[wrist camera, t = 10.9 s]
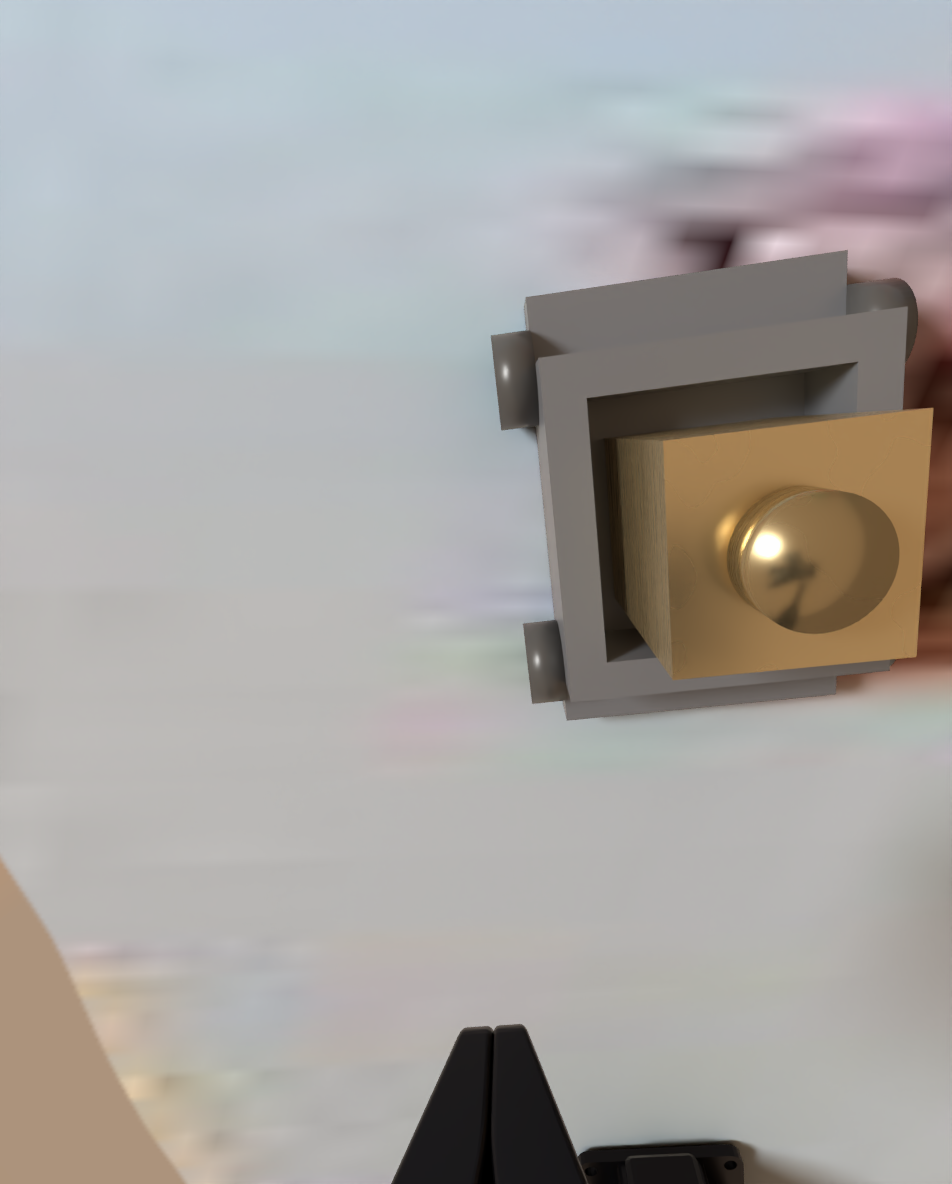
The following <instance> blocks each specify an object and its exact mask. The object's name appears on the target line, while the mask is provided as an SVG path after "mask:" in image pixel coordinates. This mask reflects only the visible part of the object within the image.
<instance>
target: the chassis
mask: <svg viewBox="0 0 952 1184" xmlns="http://www.w3.org/2000/svg"><path fill="white" fill-rule="evenodd" d="M847 256H848V250H845V251H838V252H832V253H825V254H818V255H811V256H804V257H798V258H791V259H784V260H777V261H770V262H763V263H757V264H750V265H743V266H736V267H729V268H723V269H716V270H709V271H702V272H695V273H689V274H682V275H675V276H668V277H661V278H654V279H648V280H641V281H634V282H627V283H620V284H614V285H607V286H600V287H593V288H586V289H580V290H573V291H566V292H559V293H552V294H545V295H539V296H532V297H526V299H525V304H524V312H525V322H526V331H519V332H512V333H505V334H498V335H491V342H492V351H493V360H494V369H495V378H496V387H497V396H498V405H499V413H500V422H501V430H508V429H516V428H524V427H531V426H536V434H537V444H538V455H539V465H540V475H541V485H542V495H543V505H544V516H545V526H546V536H547V546H548V556H549V566H550V577H551V587H552V597H553V607H554V617H555V620H551V621H542V622H533V623H524V624H523V627H524V636H525V645H526V654H527V663H528V671H529V680H530V689H531V697H532V704H535V703H545V702H555V701H563V706H564V710H565V714H566V718H567V720H577V719H588V718H598V717H608V716H618V715H629V714H639V713H649V712H659V711H670V710H680V709H690V708H701V707H711V706H721V705H731V704H742V703H752V702H762V701H772V700H783V699H793V698H803V697H813V696H824V695H834V694H836V676H841V675H851V674H862V673H872V672H882V671H890V666H891V665H892V664H893V663H894V661H895V660H896V659H890V660H880V661H869V662H859V663H848V664H838V665H827V666H817V667H806V668H796V669H785V670H775V671H764V672H754V673H744V674H733V675H723V676H712V677H702V678H691V679H681V680H672V678H671V677H670V676H669V674H668V673H667V671H666V670H665V668H664V667H663V666H662V664H661V663H660V661H659V660H658V658H657V657H656V656H655V654H654V653H653V651H652V650H651V649H650V647H649V646H648V644H647V643H646V641H645V640H644V639H643V637H642V636H641V634H640V633H639V631H638V630H637V629H636V627H635V626H634V624H633V623H632V622H631V620H630V619H629V617H628V616H627V614H626V613H625V612H624V610H623V609H622V607H621V606H620V605H619V603H618V602H617V600H616V599H615V595H614V579H613V564H612V549H611V533H610V518H609V502H608V487H607V472H606V456H605V441H604V438H611V437H620V436H628V435H636V434H644V433H652V432H660V431H668V430H676V429H685V428H693V427H701V426H709V425H717V424H725V423H733V422H741V421H749V420H758V419H766V418H774V417H789V416H806V415H822V414H839V413H855V412H872V411H888V410H903V393H904V373H905V363H906V361H907V359H908V357H909V355H910V353H911V351H912V348H913V345H914V342H915V338H916V333H917V325H918V310H917V303H916V299H915V296H914V293H913V291H912V289H911V288H910V286H909V285H908V284H907V283H906V282H905V281H904V280H901V279H899V278H890V279H883V280H876V281H869V282H862V283H855V284H849V285H847Z"/></svg>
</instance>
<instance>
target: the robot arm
mask: <svg viewBox="0 0 952 1184" xmlns="http://www.w3.org/2000/svg"><path fill="white" fill-rule="evenodd" d="M391 1184H744V1168H743V1162H742V1159H741V1156H740V1153H739V1150H738V1149H737V1148H736V1147H735V1146H733V1145H727V1144H725V1145H704V1146H683V1147H662V1148H641V1149H620V1150H599V1151H586V1152H583V1153H581V1154H580V1155H579V1156H577V1154H576V1151H575V1149H574V1146H573V1144H572V1141H571V1139H570V1136H569V1134H568V1131H567V1129H566V1126H565V1124H564V1121H563V1119H562V1116H561V1114H560V1111H559V1109H558V1106H557V1104H556V1101H555V1099H554V1096H553V1094H552V1091H551V1089H550V1086H549V1084H548V1081H547V1079H546V1076H545V1074H544V1071H543V1069H542V1066H541V1064H540V1061H539V1059H538V1056H537V1054H536V1051H535V1049H534V1046H533V1044H532V1041H531V1039H530V1036H529V1034H528V1031H527V1029H526V1028H525V1026H523V1025H522V1024H514V1025H499V1026H497V1027H496V1028H495V1030H494V1031H493V1029H492V1028H491V1027H488V1026H483V1027H467V1028H464V1029H463V1030H462V1031H461V1032H460V1034H459V1035H458V1037H457V1040H456V1042H455V1044H454V1046H453V1049H452V1051H451V1053H450V1055H449V1057H448V1060H447V1062H446V1064H445V1066H444V1068H443V1071H442V1073H441V1075H440V1077H439V1079H438V1082H437V1084H436V1086H435V1088H434V1090H433V1093H432V1095H431V1097H430V1099H429V1101H428V1104H427V1106H426V1108H425V1110H424V1113H423V1115H422V1117H421V1119H420V1121H419V1124H418V1126H417V1128H416V1130H415V1132H414V1135H413V1137H412V1139H411V1141H410V1143H409V1146H408V1148H407V1150H406V1152H405V1154H404V1157H403V1159H402V1161H401V1163H400V1165H399V1168H398V1170H397V1172H396V1174H395V1177H394V1179H393V1181H392V1183H391Z"/></svg>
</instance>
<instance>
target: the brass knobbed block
mask: <svg viewBox="0 0 952 1184" xmlns="http://www.w3.org/2000/svg"><path fill="white" fill-rule="evenodd" d="M932 422H933V408H922V409H905V410H888V411H872V412H855V413H839V414H822V415H806V416H789V417H774V418H766V419H758V420H749V421H741V422H733V423H725V424H717V425H709V426H701V427H693V428H685V429H676V430H668V431H660V432H652V433H644V434H636V435H628V436H620V437H611V438H604V441H605V456H606V472H607V487H608V502H609V518H610V533H611V549H612V564H613V579H614V595H615V599H616V600H617V602H618V603H619V605H620V606H621V607H622V609H623V610H624V612H625V613H626V614H627V616H628V617H629V619H630V620H631V622H632V623H633V624H634V626H635V627H636V629H637V630H638V631H639V633H640V634H641V636H642V637H643V639H644V640H645V641H646V643H647V644H648V646H649V647H650V649H651V650H652V651H653V653H654V654H655V656H656V657H657V658H658V660H659V661H660V663H661V664H662V666H663V667H664V668H665V670H666V671H667V673H668V674H669V676H670V677H671V678H672V680H681V679H691V678H702V677H712V676H723V675H733V674H744V673H754V672H764V671H775V670H785V669H796V668H806V667H817V666H827V665H838V664H848V663H859V662H869V661H880V660H890V659H901V658H911V657H916V655H917V641H918V626H919V611H920V597H921V582H922V568H923V553H924V538H925V524H926V509H927V495H928V480H929V466H930V451H931V436H932Z"/></svg>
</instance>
